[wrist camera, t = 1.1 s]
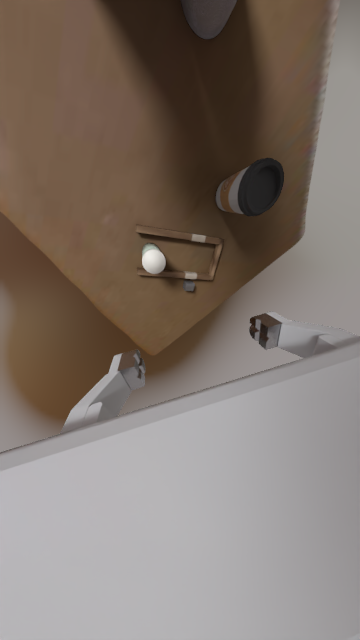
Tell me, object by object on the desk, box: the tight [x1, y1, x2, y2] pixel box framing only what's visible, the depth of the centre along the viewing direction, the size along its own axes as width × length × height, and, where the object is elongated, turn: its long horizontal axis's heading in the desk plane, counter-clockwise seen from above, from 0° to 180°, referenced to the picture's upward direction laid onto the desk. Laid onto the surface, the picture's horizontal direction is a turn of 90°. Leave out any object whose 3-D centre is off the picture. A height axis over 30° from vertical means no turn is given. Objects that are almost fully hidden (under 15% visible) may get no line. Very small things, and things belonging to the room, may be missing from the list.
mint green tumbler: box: [142, 243, 166, 274], centre depth 38 cm, size 5×5×11 cm
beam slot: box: [136, 225, 224, 291], centre depth 44 cm, size 16×25×3 cm, turn 81°
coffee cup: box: [216, 158, 284, 216], centre depth 32 cm, size 8×8×15 cm
